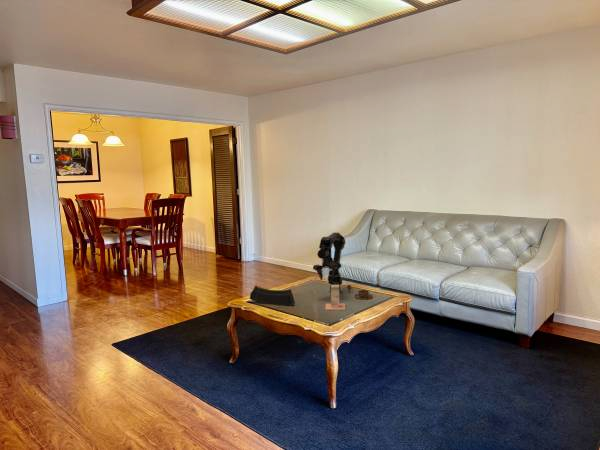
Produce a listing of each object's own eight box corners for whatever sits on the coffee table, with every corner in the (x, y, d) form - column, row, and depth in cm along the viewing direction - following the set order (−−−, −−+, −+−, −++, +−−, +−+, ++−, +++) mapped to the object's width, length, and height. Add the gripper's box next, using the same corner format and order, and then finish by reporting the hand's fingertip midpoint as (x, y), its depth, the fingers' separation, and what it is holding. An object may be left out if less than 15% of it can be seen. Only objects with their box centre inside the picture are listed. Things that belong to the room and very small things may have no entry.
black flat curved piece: (298, 291, 259) (256, 275, 268) (296, 292, 256) (254, 276, 265) (291, 315, 263) (250, 299, 271) (290, 317, 259) (248, 300, 268)
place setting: (352, 301, 268) (352, 292, 267) (345, 293, 287) (345, 285, 287) (378, 300, 269) (378, 291, 269) (370, 292, 289) (370, 283, 288)
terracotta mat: (325, 304, 261) (325, 303, 261) (344, 304, 260) (344, 303, 260) (325, 309, 249) (325, 309, 249) (345, 310, 248) (345, 309, 248)
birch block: (331, 305, 257) (331, 284, 256) (339, 305, 257) (339, 284, 256) (331, 307, 252) (330, 286, 251) (339, 307, 252) (339, 286, 251)
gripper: (320, 259, 260) (321, 283, 261) (345, 256, 268) (345, 279, 269) (312, 256, 270) (312, 279, 271) (336, 253, 278) (337, 276, 279)
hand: (327, 279), depth 273 cm, fingers open, 9 cm apart
